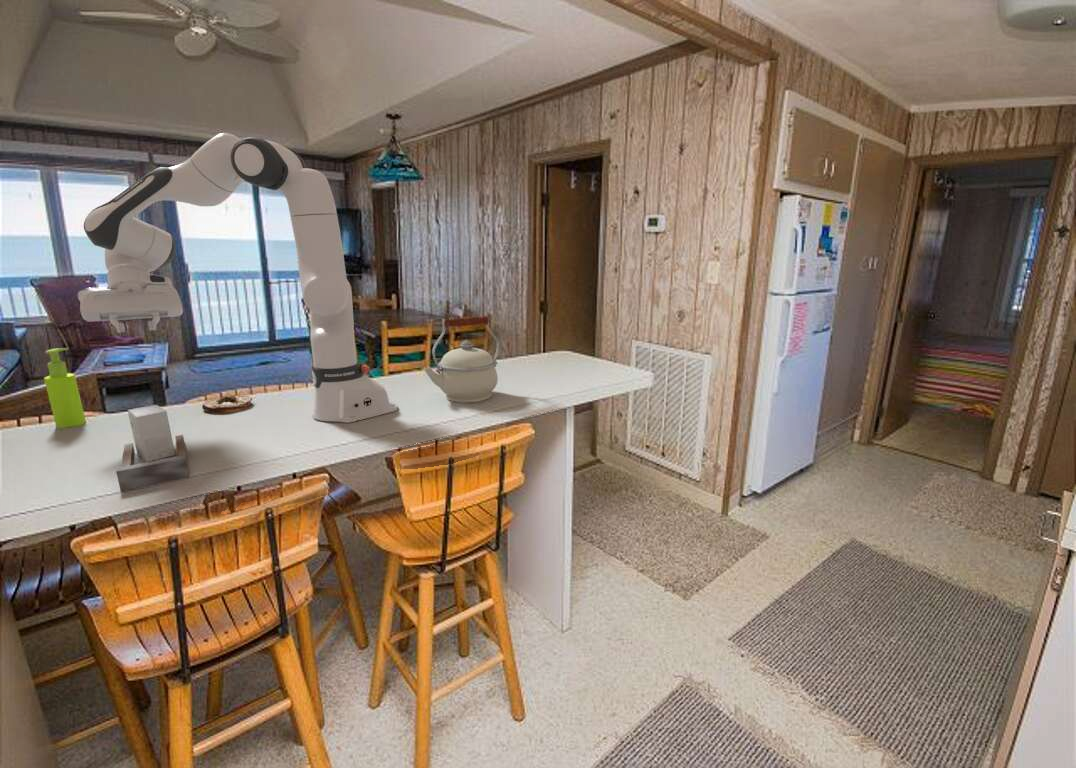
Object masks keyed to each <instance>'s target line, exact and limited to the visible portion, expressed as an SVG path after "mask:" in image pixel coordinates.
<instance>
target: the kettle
mask: <svg viewBox="0 0 1076 768" xmlns="http://www.w3.org/2000/svg"><path fill="white" fill-rule="evenodd" d="M489 320H490V319H489V316H488V315H483V316H468V317H467V316H463V317H456V318H455V317H454V318H452V319H448V318H442V321H441V322H442V323H441V324H442V332H441V334H440V335H439V336H438V338H437V340H436V341H435V342H434V344H433V347H432V351H431V353H432V355H431V356H432V357H433V360H434V363H435V365H436V367H437V368H436V369H435V371H434V370H433V368H432V367H430V366H424V367H422V368H423V371H424V372H425V373H426V374H427V376H428V377H429V379H430V381H431V382H432V383H433V384H434V385H436V386H437V387H438V388H439V389H440V390H441V391H442V392H443V393H444V394H445V398H446V399H447V400H448V401H450V402H454V403H461V404H462V403H463V404H464V403H465V404H469V403H471V404H472V403H479V402H483V401H486V400H489V398H491V396H492V392H494V389H495V388H496V386H497V385H498V381H499V380H498V374H497V370H496V368H497V365H498V364H499V363H498V361H497V359H498V355H499V353H500V342H499V339H498V338H497V337H496V335H495V334H494V333H493V332H492V330H491V328H490V325H489V322H490V321H489ZM481 324H483V325H485V326H486V327H485V328H486V329H487V332H488V333H489V334H490V335H491V336H492V337H493V339H494V341H495V342H496V349H495V353H494V357H492V355H491V354H490V353H489V352H488V351H486V350H484V349H482V348H476V347H473V346H474V344H473V342H472V341H470V340H469V339H465V340H463V341H462V342H461V344H460V348H459V347H458V348H454V349H452V350H449V351H447V352H446V353H445V354H444V355H443V356H442V358H441V360H440V361H439V362H438V360H437V358H436V349H437V346H438V345H439V343H440V342H441V340H442V339H443V337H444V335H445V333H446V329H447V328H449V327H467V326H476V325H481Z"/></svg>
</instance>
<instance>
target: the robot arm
mask: <svg viewBox="0 0 1076 768" xmlns="http://www.w3.org/2000/svg"><path fill="white" fill-rule="evenodd" d="M244 182H246V183H248V184H251V185H252V186H255V187H258V188H263V189H267V190H271V191H278V192H280V193H282V195H284V198H285V199H286V201H287V205H288V210H289V217H290V222H291V226H292V232H293V237H294V242H295V247H296V252H297V253H296V254H297V255H296V256H297V264H298V266H297V267H298V273H299V274H298V275H299V281H300V288H301V294H302V295H301V296H302V299H303V302H304V304H305V307H307V308H308V309H309V316H310V318H309V319H310V320H309V323H310V325H309V326H310V346H311V347H310V348H311V353H312V363H313V365H312V366H311V370H312V371H311V374H312V375H311V376H312V383H313V386H314V387H315V388H314V391H315V392H314V393H315V394H314V395H315V396H314V407H313V413H312V418H313V419H315V420H317V421H321V422H340V423H346V424H347V423H348V424H349V423H354V422H356V421H357V420H358V421H361V420H365V419H369V418H373V417H379V416H381V415H384V414H389V413H394V412H396V411H397V410H398V405H397V403H396V402H395V401H394V400H392V399H390V398H389V397H388V392H387V391H386V388H385V387H384V386H383V384H381V383H379V382H377V381H376V380H374V379H373V378H371V377H370V376H367V375H366V374H368V373H369V372H371V367H370V366H369V365H367V364H363V363H361V362H358V361H357V353H356V351H357V349H356V339H355V325H354V308H353V295H352V294H353V293H352V292H353V291H352V287H351V284H350V282H349V280H348V279H347V271H346V264H345V257H344V256H345V255H344V247H343V242H342V241H343V240H342V235H341V230H340V223H339V218H338V217H339V216H338V213H337V208H336V207H337V206H336V203H335V199H334V195H333V191H332V189H331V186H330V183H329V180H328V179H327V177H326V175H324V174H323V173H322V172H321V171H319V170H316V169H313V168H310V167H309V168H307V165H306V163H305V161H304V159H303V158H302V157H301V156H300V155H299V154H298V153H297V152H296V151H294V150H293V149H291V148H288V147H285V146H283V145H281V144H280V143H278V142H275V141H272V140H268V139H263V138H261V137H256V136H255V137H254V136H253V137H251V136H250V137H246V138H242V139H241V138H239V137H238V136H236V135H234V134H232V133H228V132H222V133H219V134H217V135H215V136H213V137H212V138H211V139H209V140H208V141H206V142H205V143H204V144H202V146H200V147H199V148H198V149H197V150H196V151H195V152H194V153H193V154H192V155H191V156H190V157H189V158H188V159H187V160H185V161H184V162H182V163H180V164H176V165H173V166H169V167H167V166H166V167H164V166H160V167H157V168H155V169H153V170H152V171H150V172H148V173H147V174H145V175H144V176H142V177H140V179H138V180H137V181H136V182H134V183H133V184H131V185H130V186H128V187H127V188H125V190H123V191H122V192H120V193H119V194H118V195H116V196H115V197H113V198H112V199H111V200H109V201H108V202H105V203H103V204H102V205H99V206H97V207H95V208H94V209H93V210H91V211H90V212H89V213H88V214H87V216H86V217H85V220H84V223H83V230H84V233H85V234H86V236H87V237H88V239H89V240H90V241H91V243H92V244H93V245H94V246H96V247H99V248H104V263H105V267H106V270H107V274H106V277H107V279H106V280H107V287H104V286H103V287H101V286H100V287H85V288H84V289H81V290H80V291H78V293H77V299H78V301H79V302H80V303H79V304H80V307H79V311H80V315H81V317H82V319H83V320H85V321H86V322H89V323H90V322H104V321H106V322H107V321H109V322H110V324H111V325H113V326H114V327H115V328H116V332H117V333H126V328H125V324H124V322H119V321H120V320H121V321H122V320H138V319H151V320H148V321H147V325H148V329H149V330H148V331H157V325H158V323H159V322H160V321H161V318H169V317H171V318H173V317H180V316H182V314H183V313H184V309H183V303H182V301H181V298H180V295H179V293H178V291H177V289H176V288H175V287H173V283H172V281H171V278H170V277H168V276H164V275H158V274H155V273H154V274H153V273H151V272H156V271H158V270H160V269H162V268H164V267H166V266H167V265H169V264H171V262H172V261H173V260H174V258H175V256H176V250H177V249H176V242H175V239H174V237H173V236H172V234H171V233H169V232H167V231H166V230H164V229H161V228H159V227H157V226H155V225H153V224H150V223H149V222H148V223H147V222H145V221H143V220H141V219H139V218H137V217H136V216H137V215H138V214H140V213H141V212H143V211H144V210H146V209H147V208H149V206H151V205H152V204H154V203H156V202H161V201H171V202H179V203H186V204H189V205H193V206H199V207H215V206H218V205H220V204H222V203H223V202H225V201H226V200H227V199H228V198H230V197H231V195H232V194H233V193H234V192H235V191H236V190H237V189H238V188H239V186H241V185H242V184H243V183H244Z"/></svg>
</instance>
